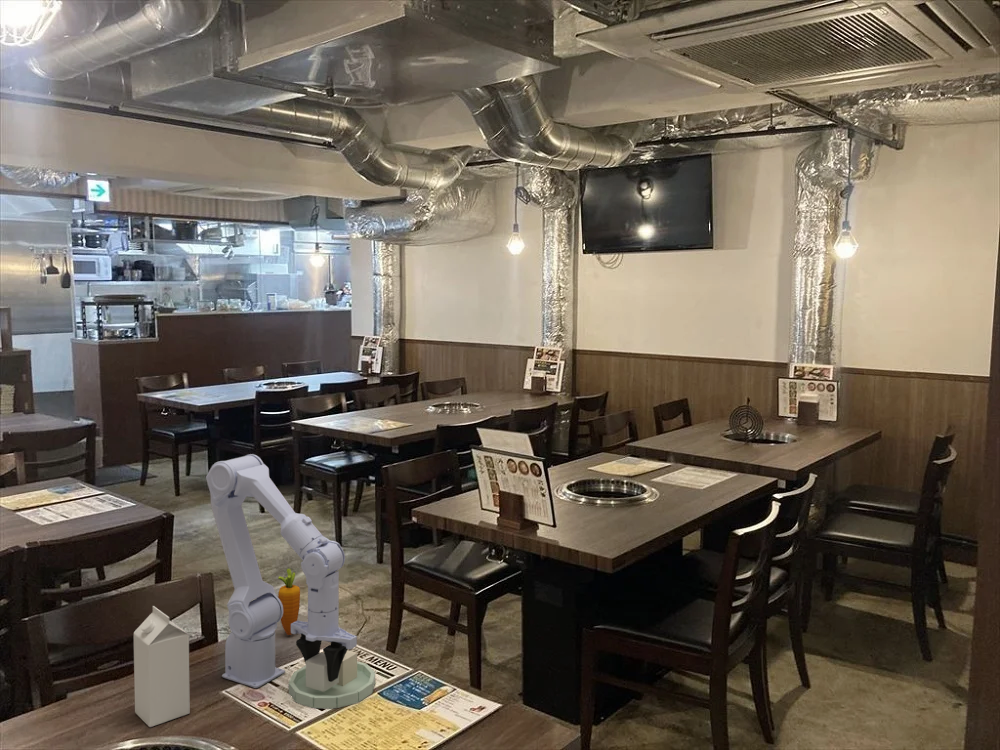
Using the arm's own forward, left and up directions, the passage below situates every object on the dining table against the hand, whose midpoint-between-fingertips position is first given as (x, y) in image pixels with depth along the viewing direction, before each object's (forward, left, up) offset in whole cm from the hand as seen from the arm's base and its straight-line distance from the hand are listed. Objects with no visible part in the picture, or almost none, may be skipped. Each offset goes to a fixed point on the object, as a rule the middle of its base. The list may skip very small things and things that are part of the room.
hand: (323, 676), depth 150 cm
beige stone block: (0, +5, -3) cm, 6 cm away
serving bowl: (0, +3, -3) cm, 4 cm away
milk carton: (-20, -20, -4) cm, 29 cm away
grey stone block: (0, 0, -2) cm, 2 cm away
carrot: (-24, +17, -4) cm, 30 cm away
